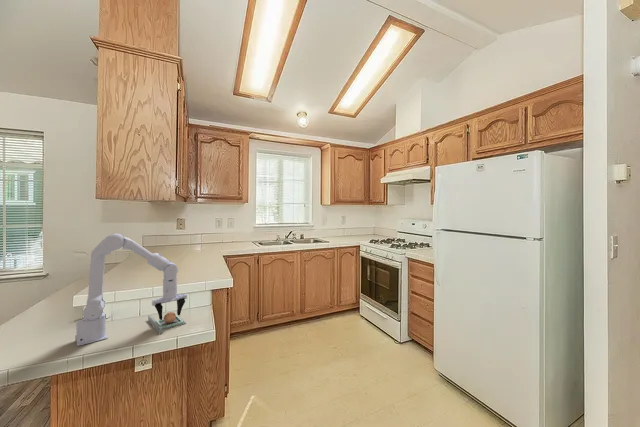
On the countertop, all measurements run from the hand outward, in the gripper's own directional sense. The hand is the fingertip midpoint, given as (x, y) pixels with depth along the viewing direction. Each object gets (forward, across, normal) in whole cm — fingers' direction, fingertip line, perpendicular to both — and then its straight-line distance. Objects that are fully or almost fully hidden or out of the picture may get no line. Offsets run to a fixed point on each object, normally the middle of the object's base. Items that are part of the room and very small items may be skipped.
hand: (169, 317), depth 127 cm
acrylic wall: (+3, -6, +1) cm, 7 cm away
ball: (0, 0, 0) cm, 0 cm away
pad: (+3, 0, 0) cm, 3 cm away
